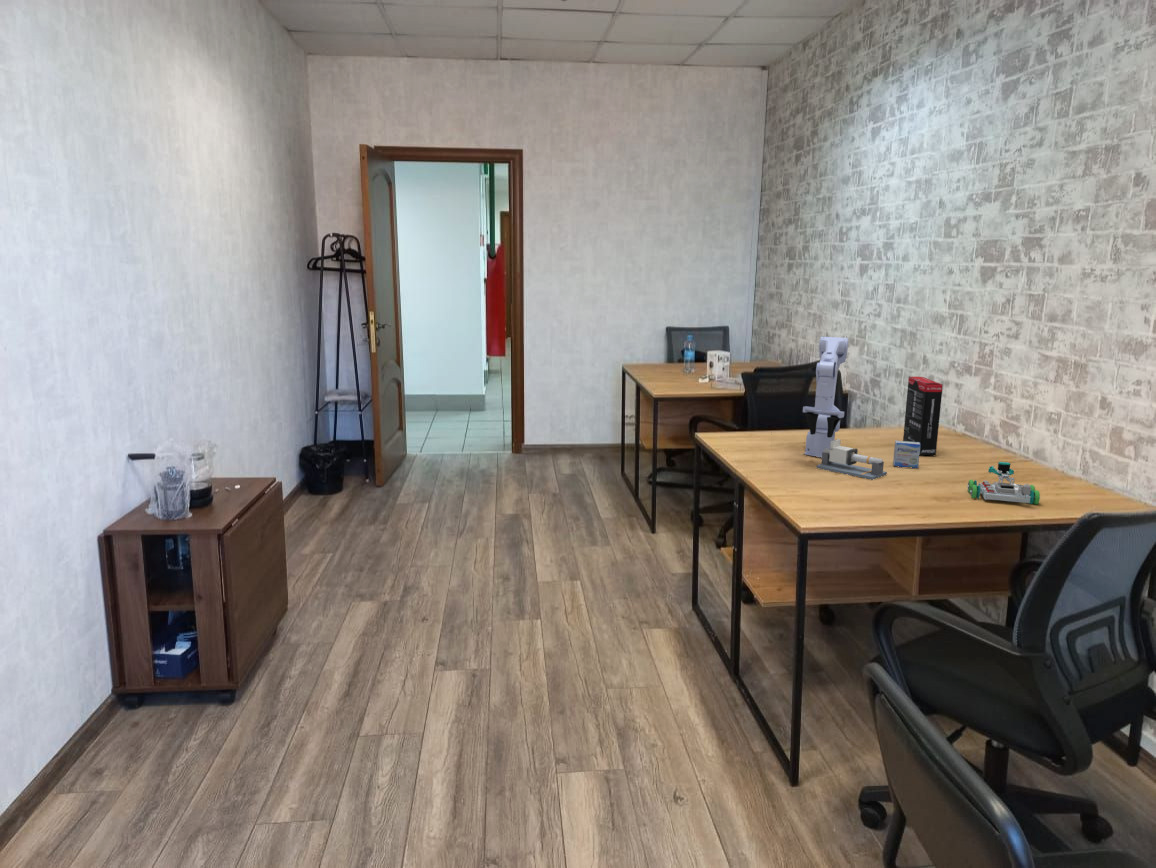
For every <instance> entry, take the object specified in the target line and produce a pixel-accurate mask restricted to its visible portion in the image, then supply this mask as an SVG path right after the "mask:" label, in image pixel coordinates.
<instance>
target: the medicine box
mask: <svg viewBox="0 0 1156 868" xmlns="http://www.w3.org/2000/svg"><path fill="white" fill-rule="evenodd" d="M920 446H921V445H920V443H919V442H908V441H903V440H895V441H894V449H893V450H894V451H893V460H892V464H893V467H894V466H899V467H898V468H902V467H912V468H911V469H915V468H918V469H919V463H920V456H919V455H920Z"/></svg>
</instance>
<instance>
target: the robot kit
mask: <svg viewBox="0 0 1156 868" xmlns="http://www.w3.org/2000/svg"><path fill="white" fill-rule="evenodd" d="M1011 465H1012V463H1010V462H1008V461H1007V462H1006V461H998V463H997V468H995V466H994V465H991V466H989V467H988V471H987V472H988V473H989V474H991V473H993V474H994V475H997V477H998V481H997V482H996V481H995V482H993V483H992V484H991V483H990V481H989V480H983V481H982V482H978V480H976V479H975V480H973V479H969V480H968V482H967V486H966V487H967V492H968V493H969V494H970V498H971V499H972V498H974V499H977V500H979V499H980V497H981V496H980V495H982V497H983V499H984V500H985V501H986V500H993V501H1004V502H1015V503H1024V504H1025V503H1026V504H1030V505H1032V504H1033V505H1035V506H1036V505H1038V504H1039V503H1040V500H1041V493H1040V491H1039V490H1037V489H1036V487H1035V485H1034V484H1028V483H1027V484H1026V483H1025V484H1023V485H1022V484H1020V483H1019V484H1018V483H1017V484H1016V483H1015V477H1010V476H1012V475H1015V470H1014V469H1012V468H1011ZM1004 480H1006V481H1007V483H1006V482H1003V481H1004ZM1008 482H1009V483H1008ZM976 497H977V498H976ZM974 499H973V500H974Z"/></svg>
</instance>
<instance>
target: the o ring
mask: <svg viewBox="0 0 1156 868" xmlns="http://www.w3.org/2000/svg"><path fill="white" fill-rule="evenodd" d="M851 453H853V454H858V448H854V449H853V450H849V451H848V461H847V465H848V466H849V465H856V464H857V461H852V462H851Z"/></svg>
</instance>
